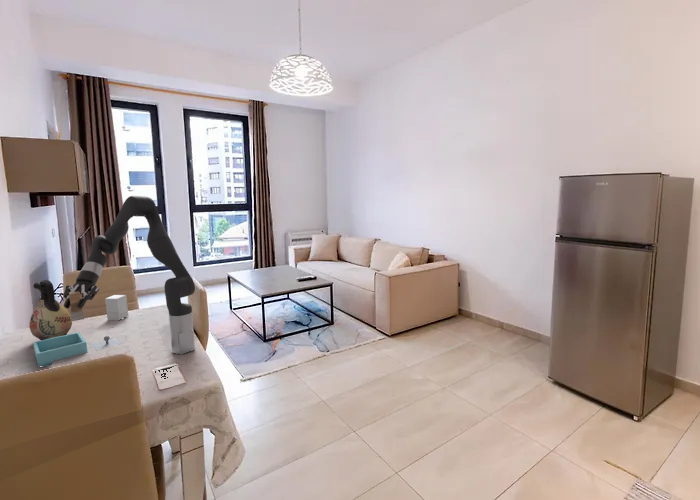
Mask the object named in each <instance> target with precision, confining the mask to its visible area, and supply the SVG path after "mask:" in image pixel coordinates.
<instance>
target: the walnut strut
mask: <svg viewBox="0 0 700 500" xmlns="http://www.w3.org/2000/svg"><path fill="white" fill-rule="evenodd" d="M80 299H82V294H80V292H79V291H75V292H69V300H70V307H69V309H70V310H69V314H70V316H71V319H72V322H75V321H76V322H77V321H82V320H84V319H85V316H84V309H83V307H82V308H81V309H79V308H78V307H77V305H78V303H79V301H80Z"/></svg>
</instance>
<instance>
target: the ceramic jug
mask: <svg viewBox="0 0 700 500" xmlns="http://www.w3.org/2000/svg"><path fill="white" fill-rule="evenodd" d="M33 289H36V290H39V292H40V299H39V302H38V303H37V304H36V306H35V308H34V310H33V311H32V313H31V316H30V319H29V322H28V323H29V326H28V327H29V330H30V333H31V335H32V336H33V337H35V338H37V339H38V340H39V341H41V340H46V339H50V338H55V337H59V336H64V335H68V333H69V332H70V330H71V328H72V325H73V321H72V319H71V313H70V311H68V308H65V307H64V305H63V304H62V303H61V302H59V301H58V300H56V297H55V289H54V285H53V283H52V282H51V281H50V280H48V279H42V280H41V281H40V282H39V283H38V282H34V283H33Z"/></svg>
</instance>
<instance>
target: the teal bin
mask: <svg viewBox="0 0 700 500" xmlns="http://www.w3.org/2000/svg"><path fill="white" fill-rule="evenodd" d="M32 345H33V351H34V356H35V359H36V363H38V364H37V366H39V367H40V366H45V367H47V366H46V365H49V366H52V364H53V362H54V361H58V360H62V359H66V358H69V357H74V356H78V355H82V354H85V353H88V345H87V340H85V338H84V336H83V335H82V334H81V332H80V331H78V332H73V333H70V334H68V333H67V335H64V336H59V337H55V338H50V339H46V340H37V341H33V342H32ZM39 367H38V368H39Z"/></svg>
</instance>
